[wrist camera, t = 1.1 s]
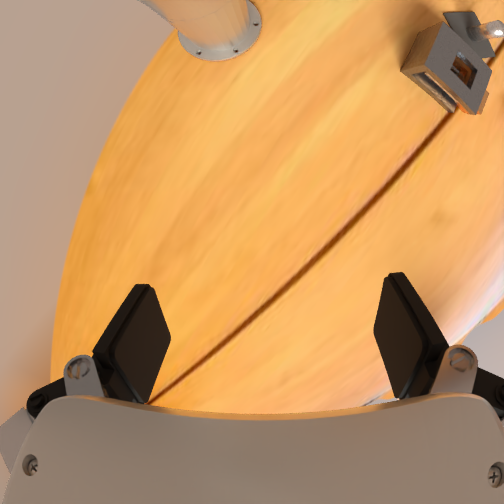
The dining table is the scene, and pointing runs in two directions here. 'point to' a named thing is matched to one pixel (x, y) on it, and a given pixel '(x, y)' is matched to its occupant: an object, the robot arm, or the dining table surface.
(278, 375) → the dining table surface
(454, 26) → the mat
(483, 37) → the pin
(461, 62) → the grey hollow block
